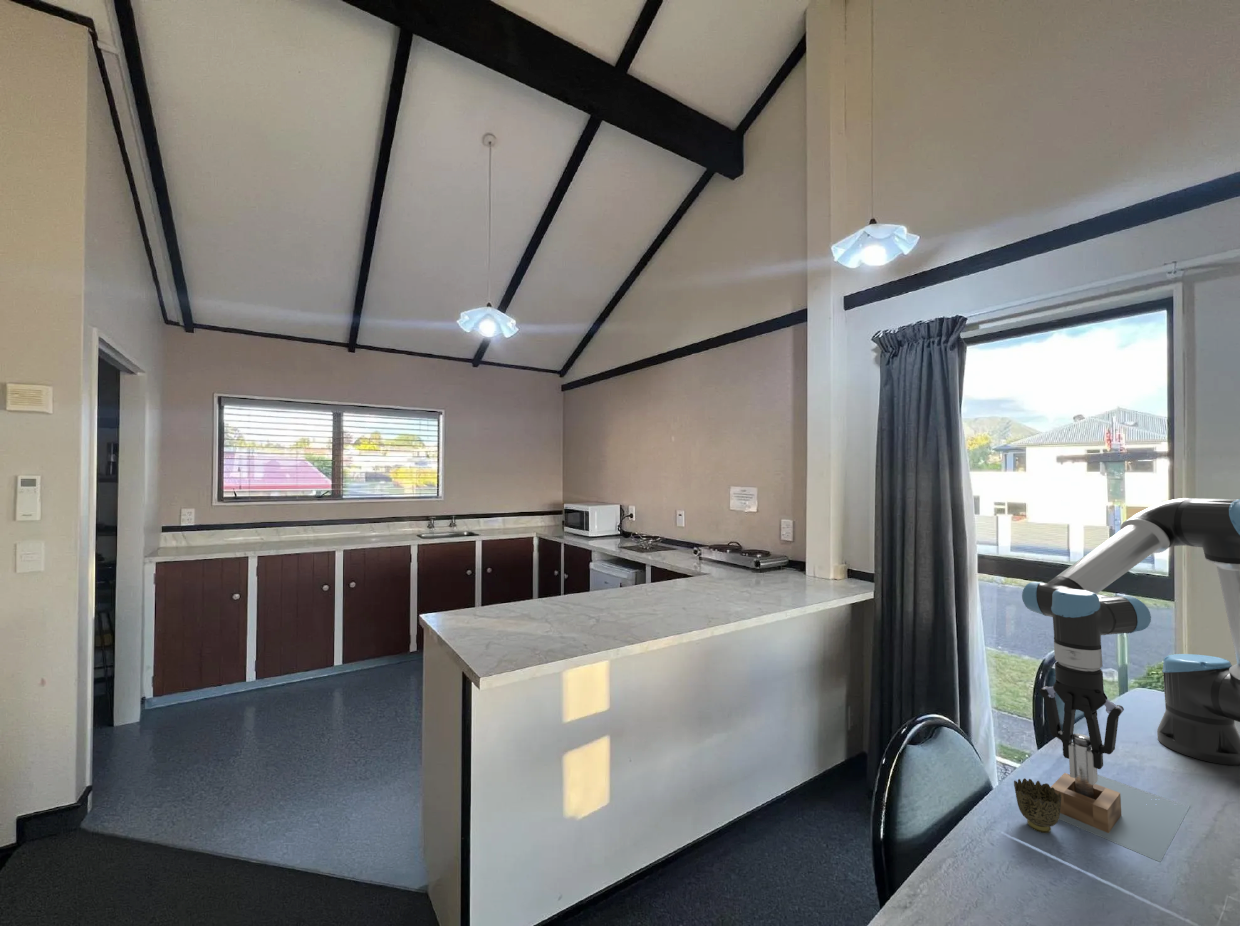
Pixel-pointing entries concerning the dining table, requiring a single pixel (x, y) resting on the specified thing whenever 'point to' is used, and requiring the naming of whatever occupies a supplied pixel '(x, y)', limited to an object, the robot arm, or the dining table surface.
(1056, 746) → the dining table surface
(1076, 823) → the mat
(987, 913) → the dining table surface
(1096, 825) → the wooden block with hole
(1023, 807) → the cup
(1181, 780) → the dining table surface
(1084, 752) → the metal cylinder rod
